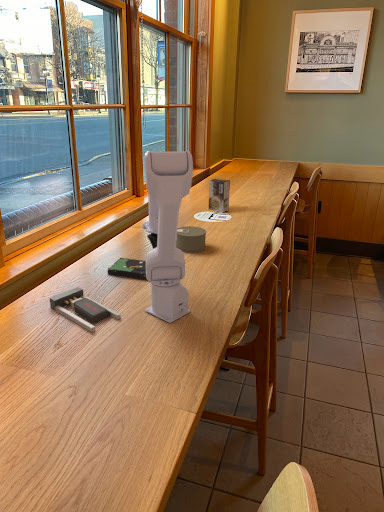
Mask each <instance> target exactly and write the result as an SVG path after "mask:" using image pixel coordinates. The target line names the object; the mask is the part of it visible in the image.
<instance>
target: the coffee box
mask: <svg viewBox="0 0 384 512" xmlns="http://www.w3.org/2000/svg"><path fill="white" fill-rule="evenodd" d="M230 186H231V180H229V179H220V178H213V179H209V180H208V210H213V211H218V212H225V211H228V210H229V209H230V207H229V206H230V205H229V204H230ZM218 212H217V213H218ZM228 212H229V211H228ZM225 213H226V212H225Z"/></svg>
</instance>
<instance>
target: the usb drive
mask: <svg viewBox="0 0 384 512" xmlns="http://www.w3.org/2000/svg"><path fill="white" fill-rule="evenodd" d="M90 299H91V298H90ZM90 299H87V298H78V299H76V300H73V301H71V304H70V307H71V308H73V310H74V313H75V314H76V315H78V316H79V317H80V318H81V317H82V319H83V320H85V321H86V322H88V323H90V324H91V325H96V324H97V323H99V322H101V321H104V320H107V319H108V318H110V317H111V316H110V312H109V311H108V310H107V309H105V308H103V307H102V306H100V305H98V304H97V303H95V302H93V301H92V300H93V299H92V300H90Z"/></svg>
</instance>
